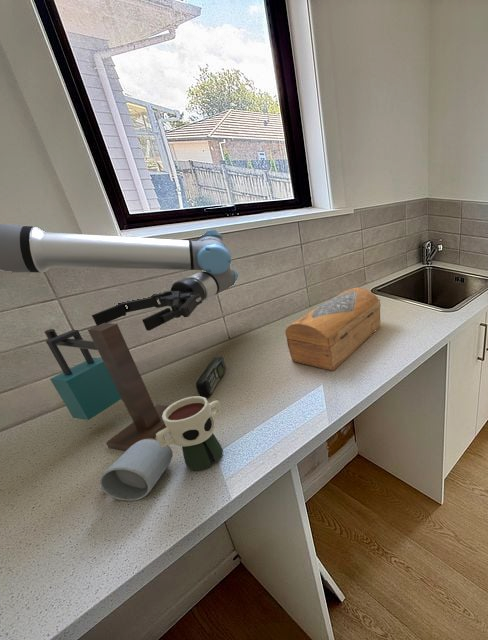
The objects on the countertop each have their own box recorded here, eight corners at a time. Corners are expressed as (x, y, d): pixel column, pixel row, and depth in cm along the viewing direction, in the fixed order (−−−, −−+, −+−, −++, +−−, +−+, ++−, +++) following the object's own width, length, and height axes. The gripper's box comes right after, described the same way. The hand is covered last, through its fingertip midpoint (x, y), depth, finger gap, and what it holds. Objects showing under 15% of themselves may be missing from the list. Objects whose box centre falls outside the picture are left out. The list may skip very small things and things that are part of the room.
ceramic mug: (181, 461, 66) (167, 431, 63) (156, 498, 59) (139, 467, 55) (122, 467, 65) (105, 437, 61) (90, 506, 57) (68, 475, 54)
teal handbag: (72, 417, 70) (29, 344, 62) (111, 394, 77) (76, 325, 69) (88, 420, 69) (46, 346, 62) (126, 396, 76) (92, 327, 69)
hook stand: (67, 441, 71) (0, 335, 59) (122, 404, 81) (74, 308, 70) (137, 452, 68) (80, 344, 57) (185, 412, 78) (145, 314, 67)
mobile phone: (205, 383, 81) (225, 350, 94) (192, 384, 80) (213, 351, 93) (211, 399, 83) (230, 365, 96) (198, 400, 83) (218, 366, 96)
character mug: (186, 488, 61) (161, 434, 55) (166, 471, 64) (141, 419, 58) (242, 448, 69) (226, 398, 63) (222, 435, 72) (205, 386, 67)
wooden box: (343, 319, 124) (339, 284, 118) (383, 326, 119) (380, 290, 113) (286, 360, 99) (277, 318, 93) (333, 372, 93) (327, 328, 87)
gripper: (236, 305, 94) (173, 341, 76) (160, 299, 98) (82, 332, 79) (229, 279, 91) (161, 311, 72) (151, 274, 95) (67, 304, 76)
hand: (120, 323), depth 76 cm, fingers open, 13 cm apart
